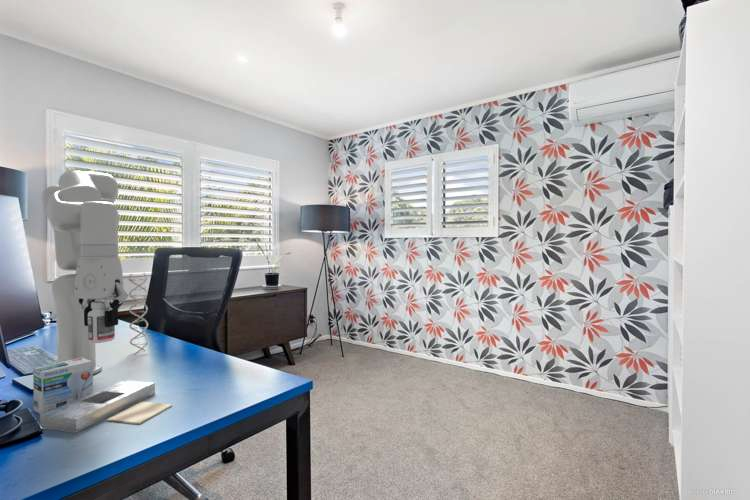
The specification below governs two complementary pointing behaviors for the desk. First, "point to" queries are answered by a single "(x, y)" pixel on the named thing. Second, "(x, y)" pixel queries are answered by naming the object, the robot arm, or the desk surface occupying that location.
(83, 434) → the desk surface
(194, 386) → the desk surface
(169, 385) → the desk surface
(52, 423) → the white slotted slab
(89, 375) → the light bulb box
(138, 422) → the wooden pad
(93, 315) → the pill bottle
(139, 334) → the dna model
